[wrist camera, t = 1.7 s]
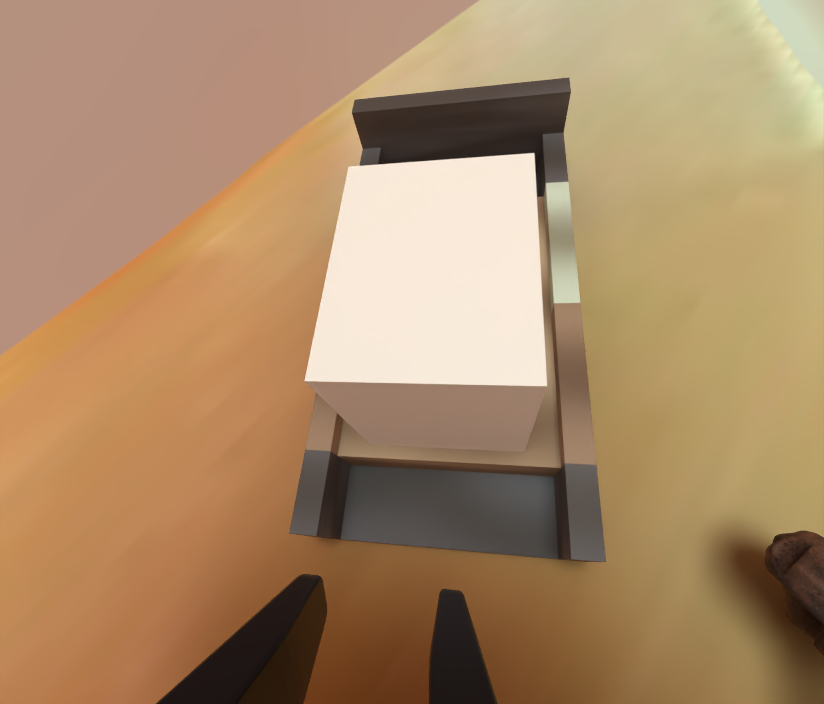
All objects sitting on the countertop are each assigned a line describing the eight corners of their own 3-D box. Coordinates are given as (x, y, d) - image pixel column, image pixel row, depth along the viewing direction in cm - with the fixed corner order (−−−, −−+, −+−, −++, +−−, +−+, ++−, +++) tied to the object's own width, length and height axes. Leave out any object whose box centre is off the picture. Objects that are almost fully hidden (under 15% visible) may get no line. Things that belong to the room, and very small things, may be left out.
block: (524, 452, 19) (547, 386, 11) (370, 444, 20) (304, 381, 13) (519, 281, 22) (534, 152, 15) (390, 284, 24) (348, 166, 17)
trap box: (586, 561, 19) (625, 562, 13) (319, 537, 21) (260, 529, 15) (554, 166, 29) (569, 77, 24) (377, 178, 31) (354, 99, 26)
